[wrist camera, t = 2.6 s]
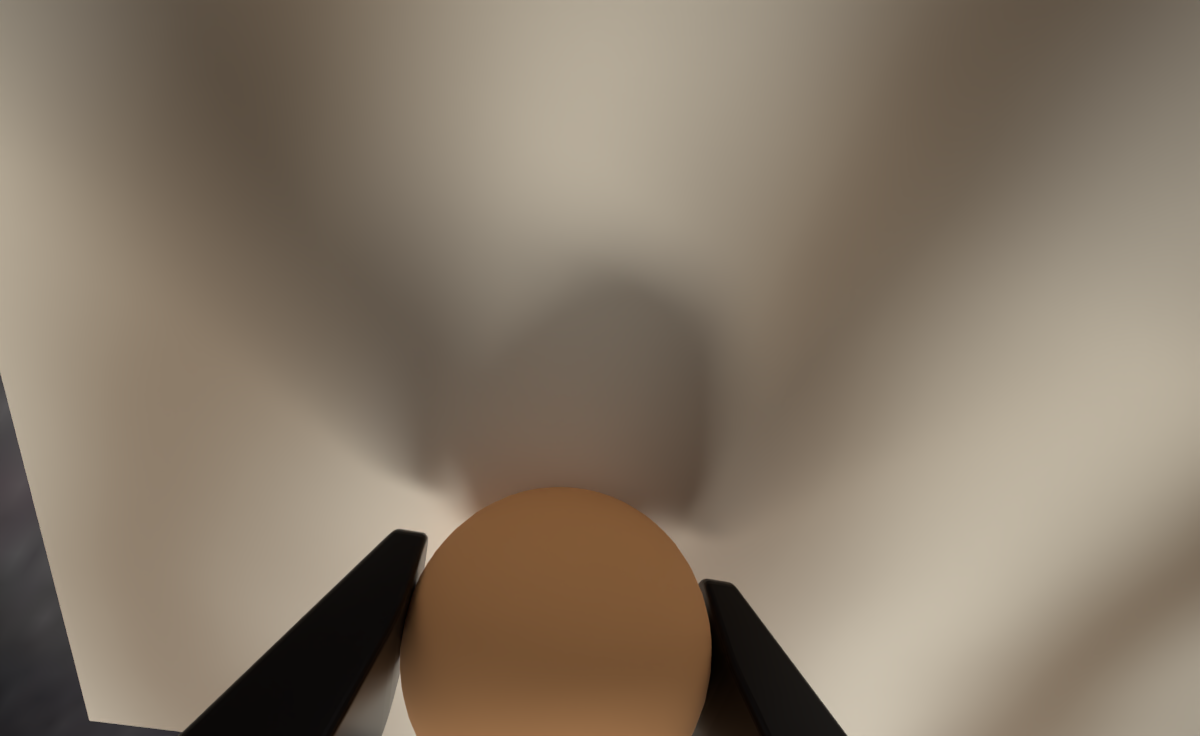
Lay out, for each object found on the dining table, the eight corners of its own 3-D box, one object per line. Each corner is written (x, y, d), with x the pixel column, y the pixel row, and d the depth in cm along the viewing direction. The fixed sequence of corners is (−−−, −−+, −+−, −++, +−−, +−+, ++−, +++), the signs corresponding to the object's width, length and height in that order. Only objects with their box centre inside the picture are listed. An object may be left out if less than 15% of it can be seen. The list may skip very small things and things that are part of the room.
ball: (723, 456, 8) (797, 716, 5) (651, 632, 10) (677, 906, 7) (452, 405, 8) (366, 656, 5) (424, 598, 10) (347, 874, 7)
